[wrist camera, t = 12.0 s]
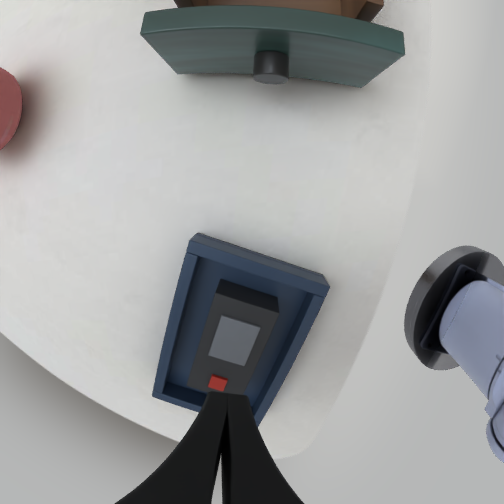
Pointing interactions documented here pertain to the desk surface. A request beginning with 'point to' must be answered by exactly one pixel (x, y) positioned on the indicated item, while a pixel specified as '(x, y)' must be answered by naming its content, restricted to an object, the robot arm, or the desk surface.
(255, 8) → the drawer
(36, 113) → the desk surface
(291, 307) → the tray
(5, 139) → the apple
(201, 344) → the remote
